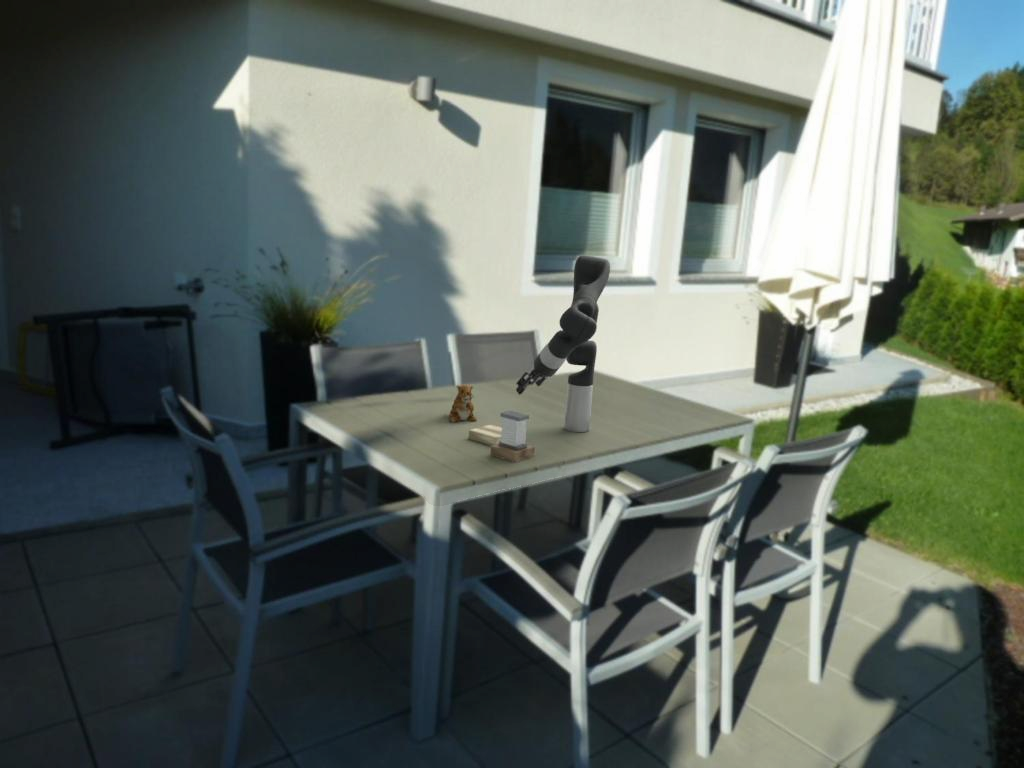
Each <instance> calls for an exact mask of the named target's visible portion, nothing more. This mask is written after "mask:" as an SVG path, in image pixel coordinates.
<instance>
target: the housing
mask: <svg viewBox="0 0 1024 768" xmlns="http://www.w3.org/2000/svg"><path fill="white" fill-rule="evenodd" d="M500 417H501V418H502V419H501V427H502V433H501V441H500V442H499V446H503V447H506V448H509V449H513V450H516V451H518V450H521V449H525V448H527V445H528V444H527V443H526V437H527V422H528V421H527V420H529V419H530V414H526V413H522V412H518V411H513V410H507V411H504V412H500Z"/></svg>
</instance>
